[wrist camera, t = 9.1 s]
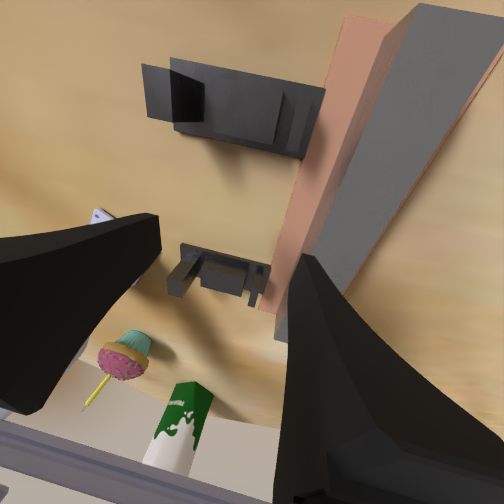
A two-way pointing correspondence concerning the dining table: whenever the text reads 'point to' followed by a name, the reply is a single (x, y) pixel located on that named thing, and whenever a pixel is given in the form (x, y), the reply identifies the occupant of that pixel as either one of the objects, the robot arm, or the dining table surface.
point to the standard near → (233, 106)
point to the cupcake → (123, 359)
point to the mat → (334, 145)
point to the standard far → (218, 273)
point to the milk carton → (179, 429)
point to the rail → (396, 132)
